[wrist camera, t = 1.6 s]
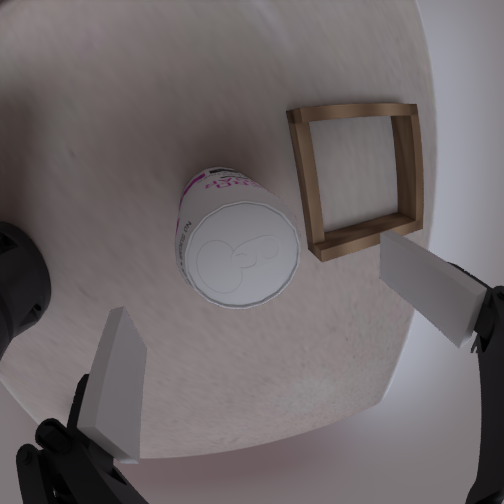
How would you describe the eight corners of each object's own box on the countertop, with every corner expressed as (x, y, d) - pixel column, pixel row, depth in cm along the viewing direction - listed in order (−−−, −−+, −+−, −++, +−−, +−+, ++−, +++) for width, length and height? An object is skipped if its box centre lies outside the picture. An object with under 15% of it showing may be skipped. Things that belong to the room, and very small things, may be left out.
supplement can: (198, 249, 31) (208, 333, 18) (169, 183, 28) (150, 224, 14) (263, 222, 32) (320, 287, 18) (240, 154, 28) (288, 169, 15)
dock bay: (308, 249, 34) (321, 262, 31) (286, 111, 27) (299, 107, 23) (405, 219, 36) (422, 228, 33) (396, 104, 29) (416, 104, 25)
